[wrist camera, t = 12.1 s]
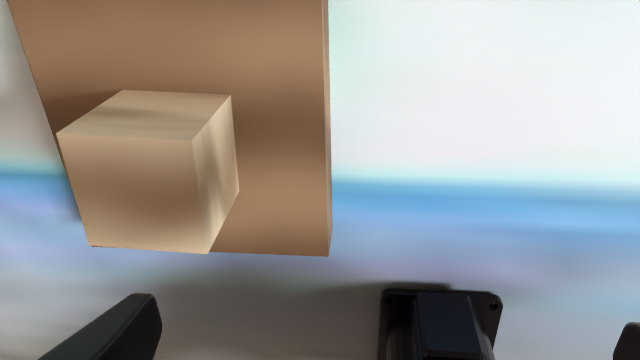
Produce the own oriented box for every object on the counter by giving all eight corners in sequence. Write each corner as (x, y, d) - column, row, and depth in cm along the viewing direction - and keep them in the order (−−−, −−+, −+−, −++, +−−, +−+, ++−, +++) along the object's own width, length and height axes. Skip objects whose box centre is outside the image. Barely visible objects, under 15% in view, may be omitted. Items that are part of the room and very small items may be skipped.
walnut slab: (333, 221, 24) (328, 256, 22) (120, 213, 25) (91, 246, 23) (328, -25, 18) (321, -17, 16) (52, -18, 20) (3, -10, 17)
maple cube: (239, 191, 20) (207, 254, 16) (142, 185, 21) (89, 245, 17) (230, 94, 18) (191, 140, 14) (122, 89, 18) (55, 133, 15)
